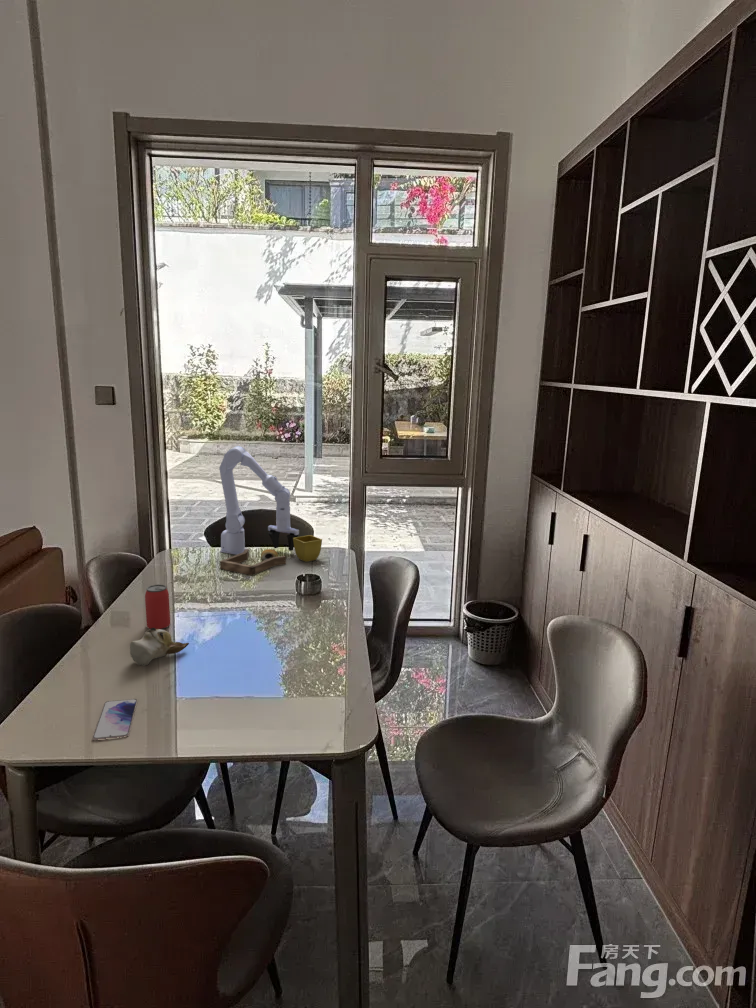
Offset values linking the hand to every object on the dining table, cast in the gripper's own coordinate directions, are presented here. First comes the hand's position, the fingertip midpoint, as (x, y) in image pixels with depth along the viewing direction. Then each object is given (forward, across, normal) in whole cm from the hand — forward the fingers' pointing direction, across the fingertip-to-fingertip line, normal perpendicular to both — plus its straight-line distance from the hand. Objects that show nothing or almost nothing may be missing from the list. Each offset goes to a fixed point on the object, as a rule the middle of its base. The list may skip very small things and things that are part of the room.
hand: (283, 549), depth 255 cm
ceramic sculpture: (+2, -28, +95) cm, 99 cm away
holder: (+1, 0, +21) cm, 21 cm away
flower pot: (+2, -14, +4) cm, 15 cm away
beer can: (+2, -13, +81) cm, 82 cm away
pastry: (+2, +1, +9) cm, 9 cm away
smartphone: (+2, -43, +121) cm, 128 cm away
